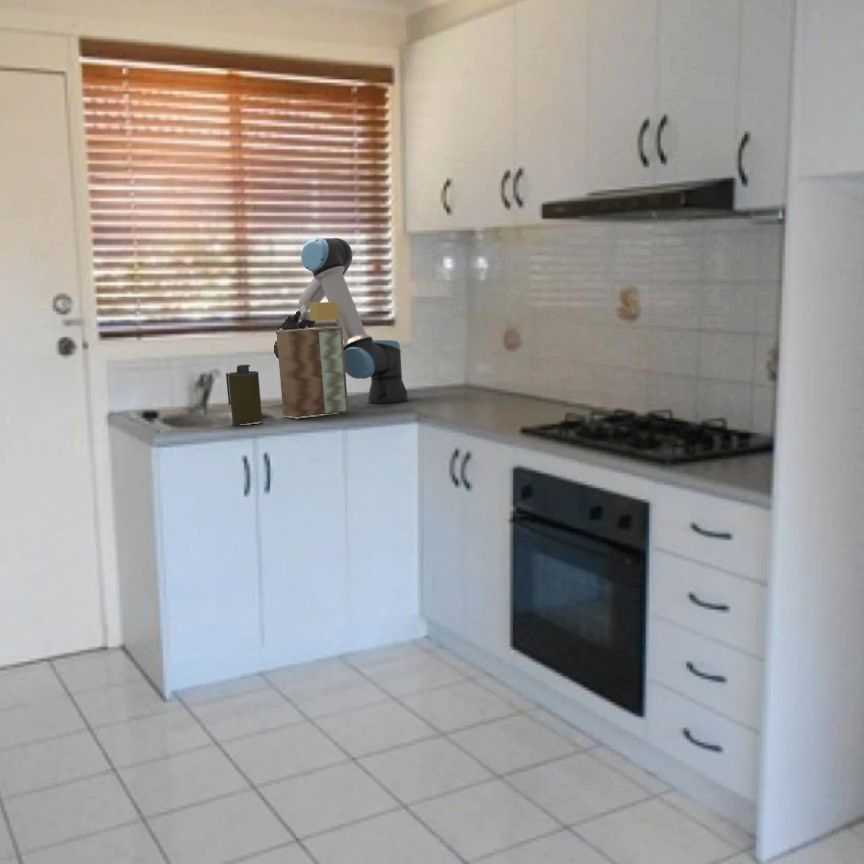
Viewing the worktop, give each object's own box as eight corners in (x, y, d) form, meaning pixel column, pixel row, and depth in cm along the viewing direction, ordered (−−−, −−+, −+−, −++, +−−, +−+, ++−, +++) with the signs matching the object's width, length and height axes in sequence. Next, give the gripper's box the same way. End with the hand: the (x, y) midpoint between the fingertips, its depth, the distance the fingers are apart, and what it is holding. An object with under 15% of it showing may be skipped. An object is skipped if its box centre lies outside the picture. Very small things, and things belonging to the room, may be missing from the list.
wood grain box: (335, 410, 366) (328, 326, 362) (348, 413, 357) (342, 326, 352) (283, 417, 356) (276, 330, 352) (296, 420, 347) (288, 331, 342)
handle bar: (310, 318, 372) (309, 302, 371) (338, 319, 351) (337, 301, 351) (290, 320, 368) (289, 303, 367) (317, 320, 348) (316, 303, 347)
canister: (266, 420, 350) (261, 362, 347) (258, 425, 340) (253, 365, 337) (235, 422, 351) (230, 364, 348) (227, 426, 341) (221, 367, 338)
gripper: (311, 346, 384) (332, 315, 365) (272, 349, 376) (291, 318, 357) (306, 328, 386) (326, 297, 367) (266, 331, 379) (285, 299, 359)
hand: (308, 307), depth 362 cm, fingers closed on handle bar, 3 cm apart
